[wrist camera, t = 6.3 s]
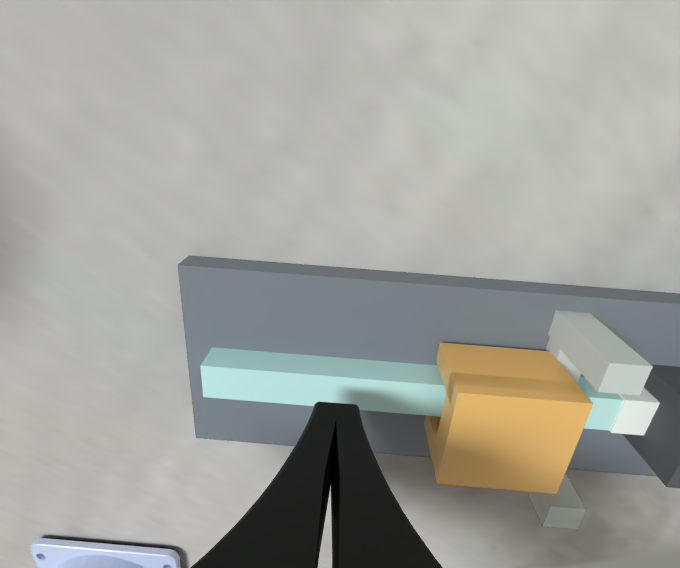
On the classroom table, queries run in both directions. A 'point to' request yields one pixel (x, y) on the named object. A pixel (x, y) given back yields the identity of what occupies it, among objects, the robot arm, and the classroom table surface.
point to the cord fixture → (425, 357)
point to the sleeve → (505, 419)
